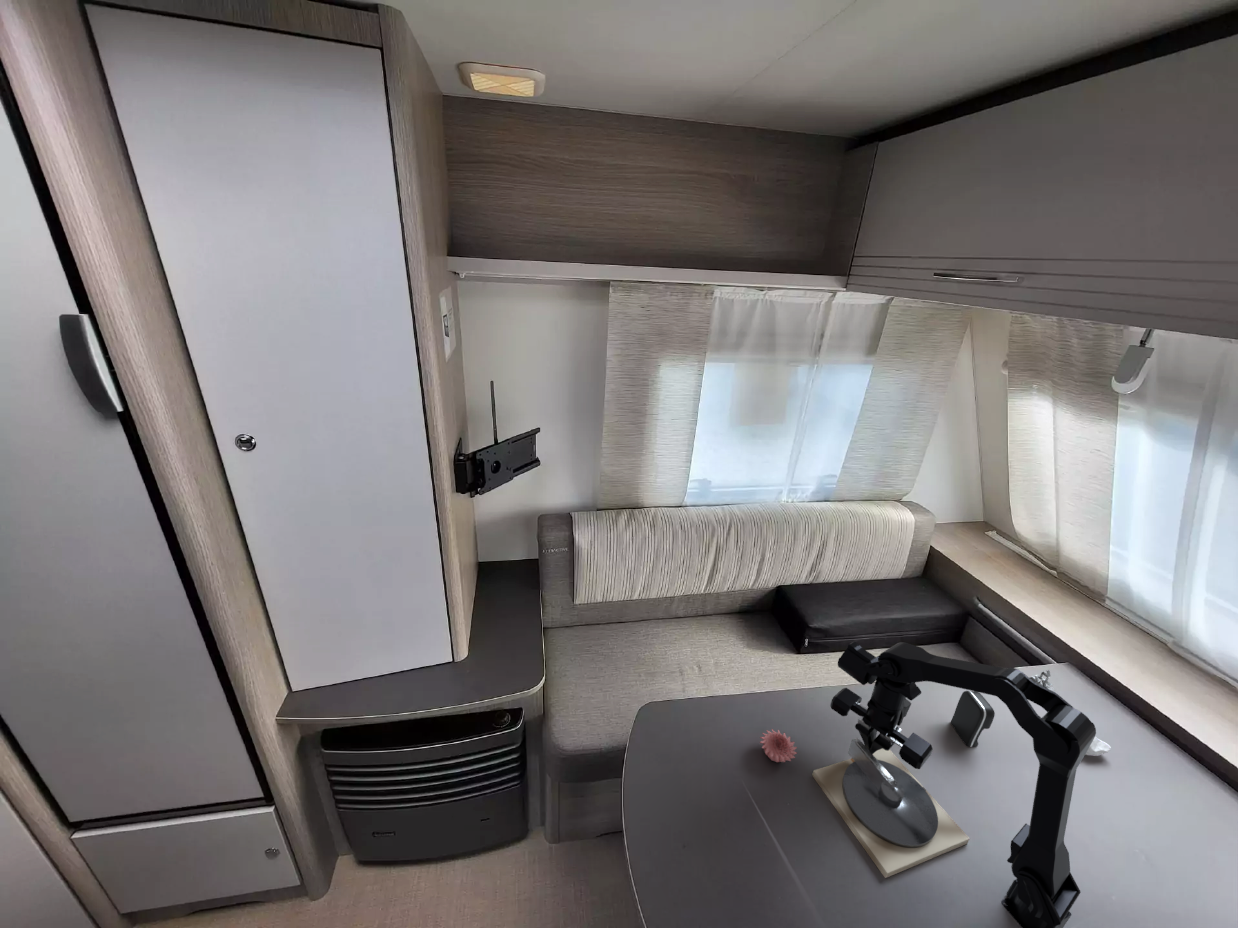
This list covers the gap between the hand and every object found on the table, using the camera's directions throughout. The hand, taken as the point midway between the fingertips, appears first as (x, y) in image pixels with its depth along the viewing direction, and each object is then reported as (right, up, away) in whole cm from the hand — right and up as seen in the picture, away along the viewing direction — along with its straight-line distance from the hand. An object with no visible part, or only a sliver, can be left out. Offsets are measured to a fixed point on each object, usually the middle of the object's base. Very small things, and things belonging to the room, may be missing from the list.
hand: (869, 754), depth 108 cm
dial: (0, -5, -7) cm, 9 cm away
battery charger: (+28, -2, +11) cm, 30 cm away
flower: (-19, -2, +3) cm, 20 cm away
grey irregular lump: (+54, +2, +25) cm, 59 cm away
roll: (+52, -4, +9) cm, 53 cm away
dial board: (0, -7, -7) cm, 10 cm away
